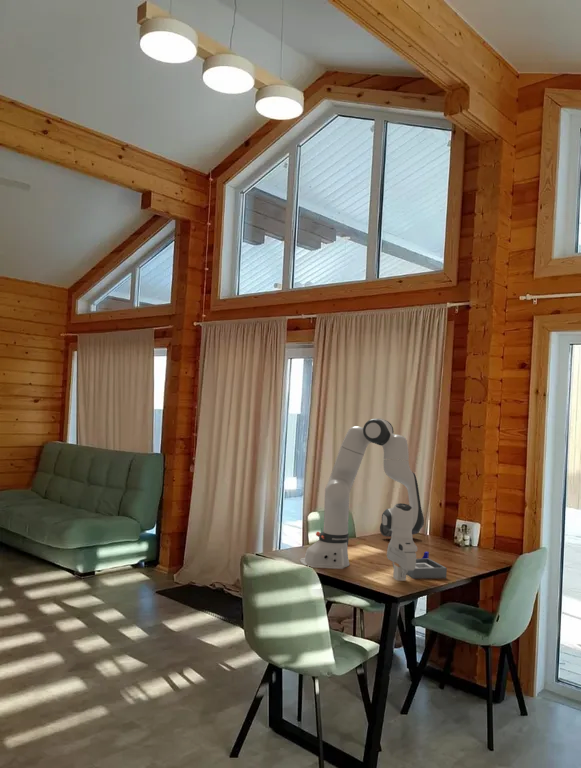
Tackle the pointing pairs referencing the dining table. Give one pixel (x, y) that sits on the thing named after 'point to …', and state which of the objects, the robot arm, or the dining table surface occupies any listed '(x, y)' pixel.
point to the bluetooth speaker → (388, 532)
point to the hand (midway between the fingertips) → (399, 575)
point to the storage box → (427, 569)
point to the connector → (398, 572)
